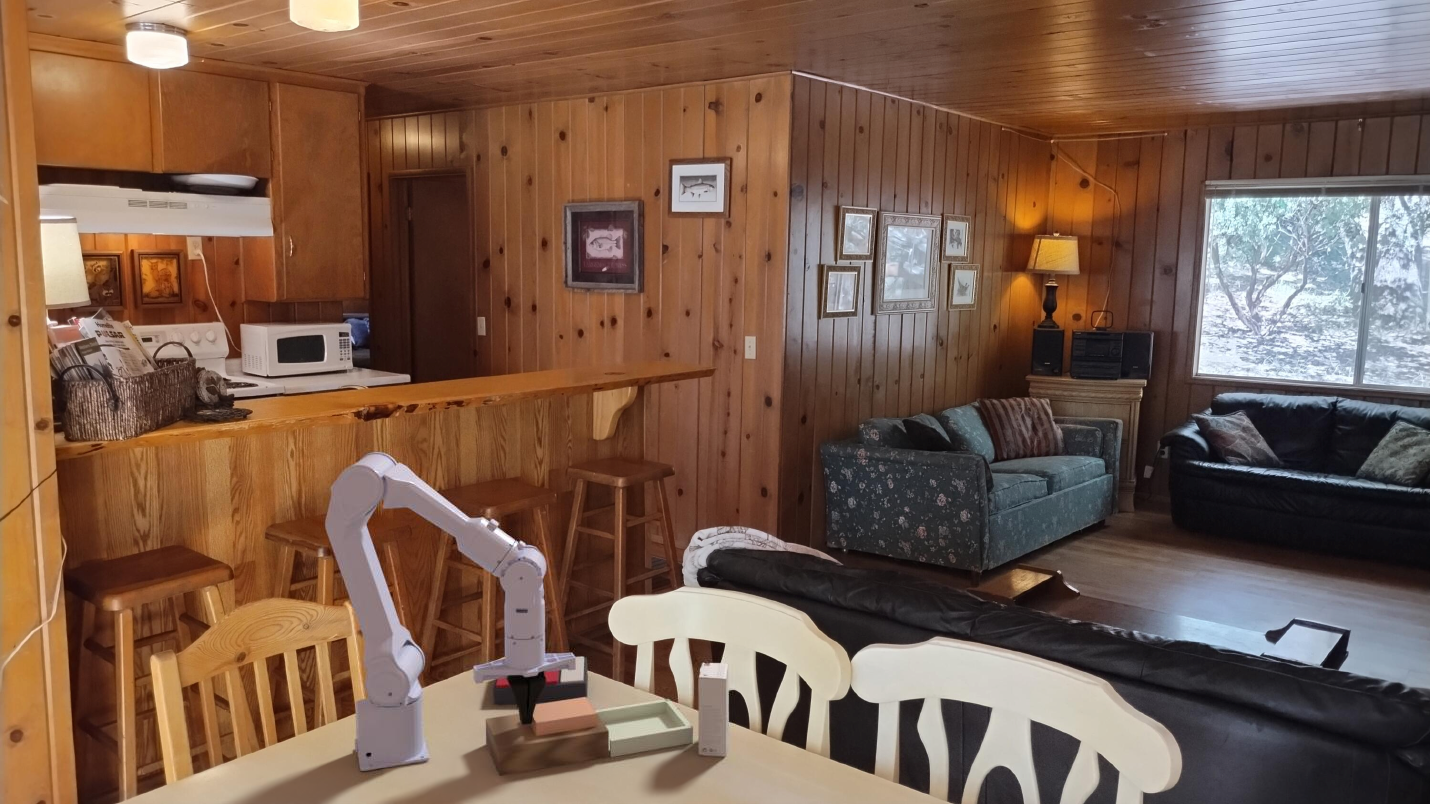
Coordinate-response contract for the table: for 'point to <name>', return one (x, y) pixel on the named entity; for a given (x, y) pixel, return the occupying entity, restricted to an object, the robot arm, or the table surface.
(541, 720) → the tile
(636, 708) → the tray
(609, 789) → the table surface
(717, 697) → the skincare box
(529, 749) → the brown wooden block
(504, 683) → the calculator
